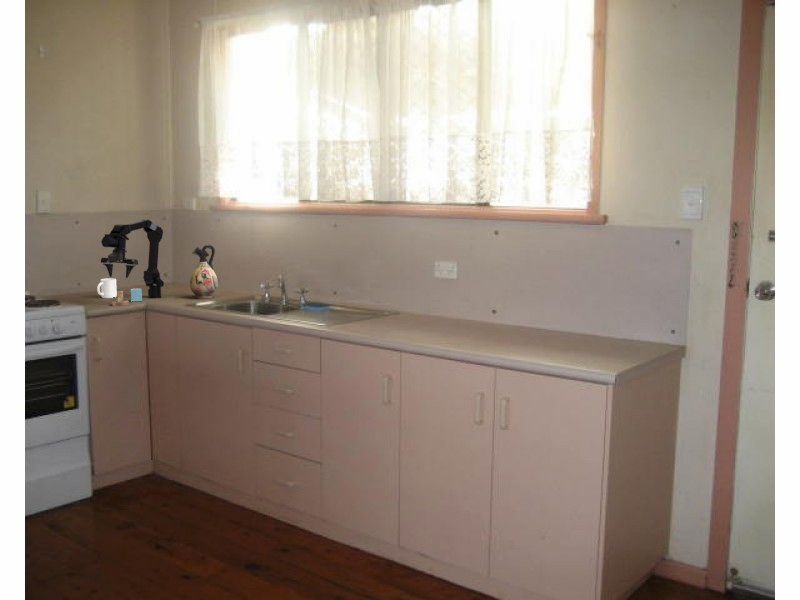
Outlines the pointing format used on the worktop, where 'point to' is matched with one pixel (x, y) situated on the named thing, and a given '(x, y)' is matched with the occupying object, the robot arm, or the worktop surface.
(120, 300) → the stand
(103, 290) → the mug
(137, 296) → the light blue block
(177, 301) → the worktop surface
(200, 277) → the ceramic jug
